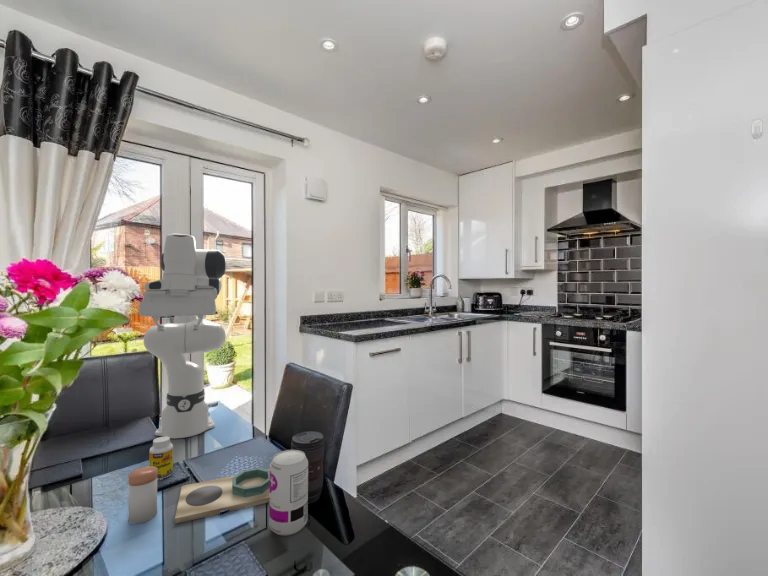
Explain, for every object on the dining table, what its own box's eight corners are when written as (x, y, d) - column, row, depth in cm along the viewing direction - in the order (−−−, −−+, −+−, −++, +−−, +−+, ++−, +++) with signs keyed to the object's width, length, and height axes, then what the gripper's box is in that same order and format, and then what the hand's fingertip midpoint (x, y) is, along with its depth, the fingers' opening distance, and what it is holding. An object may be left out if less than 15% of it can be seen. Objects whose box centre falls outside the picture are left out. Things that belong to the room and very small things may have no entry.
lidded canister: (131, 511, 82) (131, 468, 82) (159, 506, 85) (159, 464, 85) (125, 526, 77) (125, 480, 77) (154, 520, 80) (155, 475, 80)
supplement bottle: (149, 483, 94) (149, 445, 94) (149, 474, 99) (149, 437, 99) (173, 477, 97) (173, 440, 97) (172, 468, 102) (172, 433, 102)
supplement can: (268, 540, 73) (269, 468, 73) (269, 516, 81) (270, 450, 81) (308, 533, 76) (309, 463, 76) (306, 510, 84) (306, 446, 84)
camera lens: (330, 493, 90) (330, 435, 90) (306, 510, 84) (307, 446, 84) (307, 483, 95) (308, 427, 95) (283, 498, 88) (284, 438, 88)
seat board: (181, 490, 91) (182, 477, 91) (271, 472, 100) (271, 461, 100) (174, 523, 78) (174, 509, 78) (277, 500, 87) (278, 487, 87)
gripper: (217, 286, 115) (217, 329, 114) (142, 286, 107) (141, 332, 106) (217, 284, 110) (216, 329, 108) (137, 283, 101) (136, 332, 100)
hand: (178, 331), depth 107 cm, fingers open, 8 cm apart
